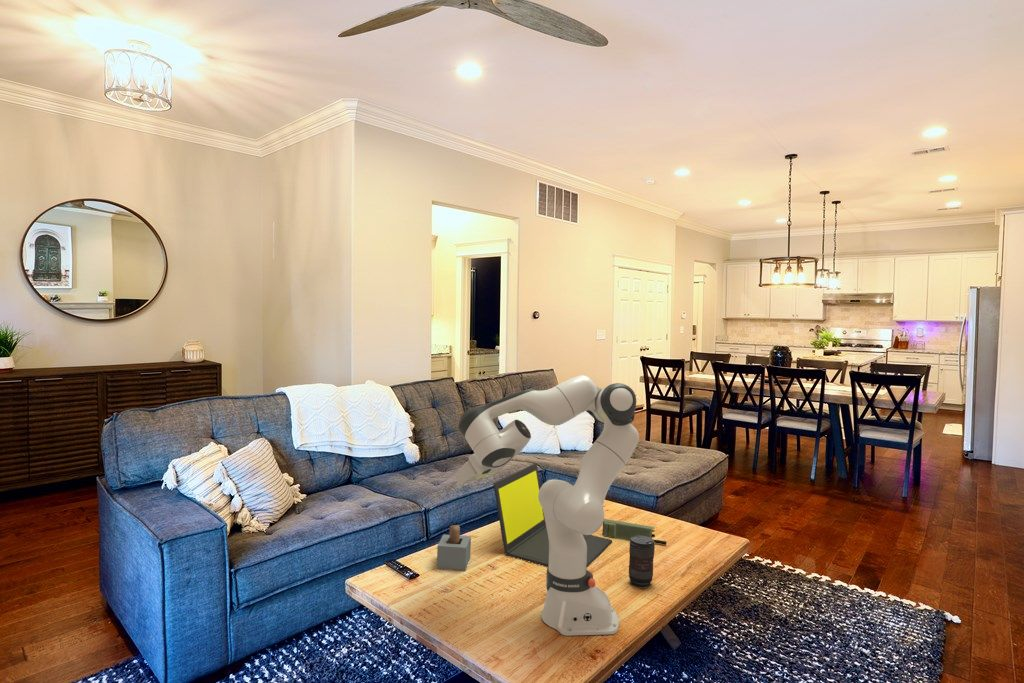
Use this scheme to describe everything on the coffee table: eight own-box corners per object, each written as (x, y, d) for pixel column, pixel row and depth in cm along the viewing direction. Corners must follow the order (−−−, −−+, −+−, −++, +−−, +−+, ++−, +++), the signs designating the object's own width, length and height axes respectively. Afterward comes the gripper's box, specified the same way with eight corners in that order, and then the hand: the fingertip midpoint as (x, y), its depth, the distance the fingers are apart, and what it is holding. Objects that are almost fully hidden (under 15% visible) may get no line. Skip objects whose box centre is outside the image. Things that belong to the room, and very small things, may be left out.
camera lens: (657, 583, 188) (659, 539, 188) (644, 591, 182) (647, 546, 182) (636, 575, 194) (637, 532, 193) (623, 583, 188) (625, 539, 187)
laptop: (578, 577, 192) (581, 501, 191) (491, 552, 210) (493, 482, 208) (612, 543, 221) (614, 477, 220) (533, 524, 238) (535, 462, 237)
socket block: (470, 558, 203) (470, 536, 203) (465, 570, 193) (466, 547, 193) (442, 556, 204) (443, 534, 204) (436, 568, 194) (437, 545, 194)
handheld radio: (603, 533, 230) (666, 544, 221) (601, 536, 227) (665, 548, 218) (604, 517, 230) (667, 528, 220) (602, 520, 227) (666, 531, 217)
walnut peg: (460, 552, 200) (460, 525, 200) (458, 557, 197) (458, 528, 196) (450, 552, 200) (450, 524, 200) (448, 556, 197) (448, 528, 197)
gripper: (506, 444, 186) (482, 467, 192) (467, 456, 170) (442, 481, 176) (517, 459, 184) (492, 483, 190) (478, 473, 167) (452, 498, 173)
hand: (468, 482), depth 183 cm, fingers open, 8 cm apart
